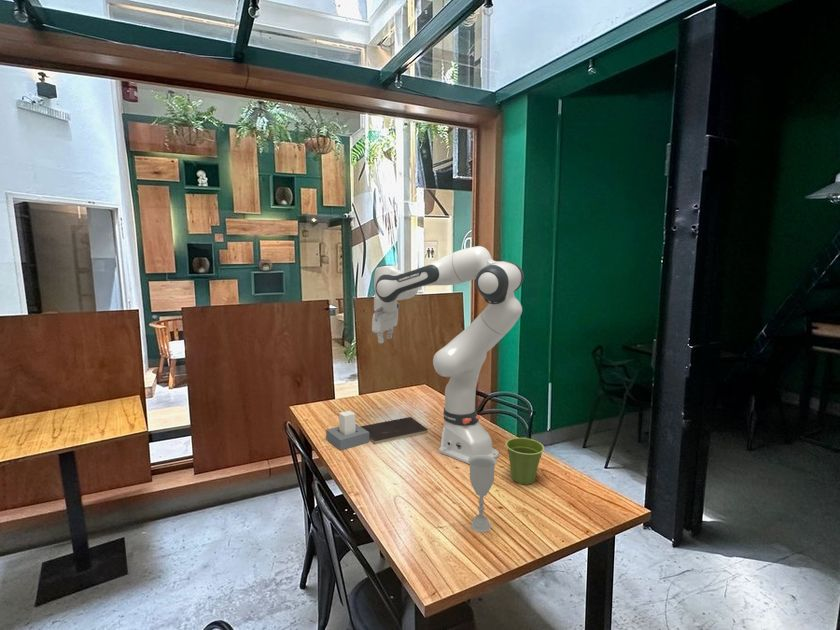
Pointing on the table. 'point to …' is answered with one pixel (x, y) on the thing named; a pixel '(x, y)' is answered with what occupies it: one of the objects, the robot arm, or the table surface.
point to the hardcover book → (394, 430)
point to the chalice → (481, 486)
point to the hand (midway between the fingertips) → (385, 340)
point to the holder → (347, 438)
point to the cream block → (347, 422)
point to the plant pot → (524, 459)
